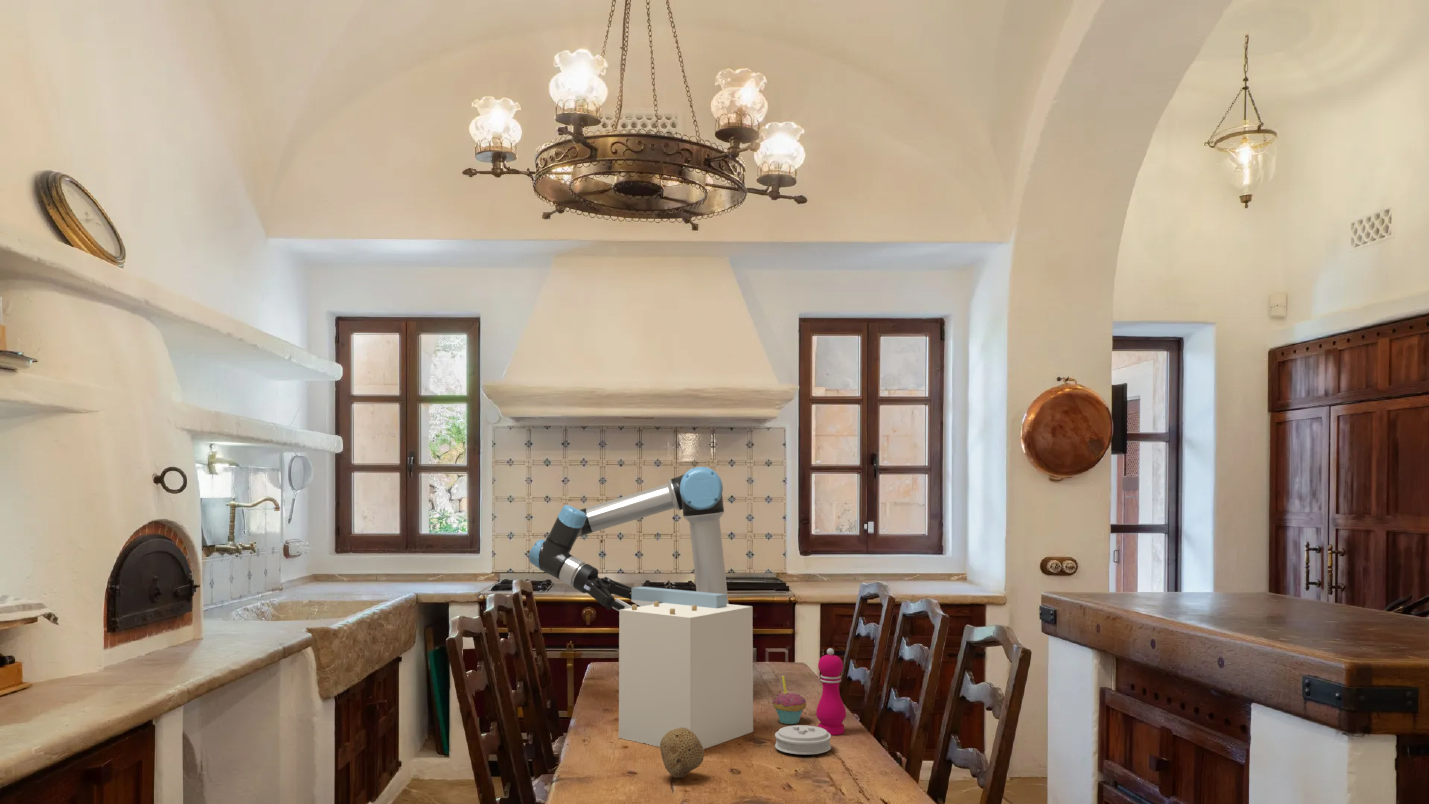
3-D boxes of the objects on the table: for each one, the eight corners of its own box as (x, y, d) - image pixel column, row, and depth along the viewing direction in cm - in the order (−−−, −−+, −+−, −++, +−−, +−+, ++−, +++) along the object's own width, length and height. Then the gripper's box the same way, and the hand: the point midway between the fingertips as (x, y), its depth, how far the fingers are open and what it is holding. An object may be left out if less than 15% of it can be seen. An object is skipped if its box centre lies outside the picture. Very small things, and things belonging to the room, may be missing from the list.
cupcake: (767, 723, 242) (767, 674, 243) (781, 716, 250) (780, 669, 250) (799, 727, 238) (798, 678, 239) (812, 720, 246) (811, 672, 246)
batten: (631, 599, 251) (631, 587, 251) (641, 598, 254) (641, 586, 254) (716, 608, 233) (716, 595, 234) (726, 606, 237) (726, 594, 237)
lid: (786, 760, 211) (785, 737, 211) (767, 745, 223) (767, 723, 224) (839, 756, 214) (839, 733, 215) (818, 741, 227) (818, 719, 227)
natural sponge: (703, 771, 203) (703, 722, 204) (704, 784, 194) (704, 733, 195) (660, 771, 203) (660, 722, 204) (659, 784, 194) (659, 734, 195)
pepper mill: (845, 736, 230) (844, 651, 231) (814, 735, 231) (814, 650, 233) (847, 729, 237) (846, 646, 238) (817, 727, 238) (817, 645, 240)
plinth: (618, 737, 229) (619, 604, 231) (683, 718, 248) (683, 595, 250) (690, 754, 215) (690, 612, 218) (753, 731, 234) (752, 601, 237)
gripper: (592, 582, 280) (655, 616, 274) (554, 592, 256) (621, 630, 250) (603, 559, 280) (665, 592, 273) (565, 567, 256) (632, 604, 250)
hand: (644, 610), depth 262 cm, fingers open, 13 cm apart
